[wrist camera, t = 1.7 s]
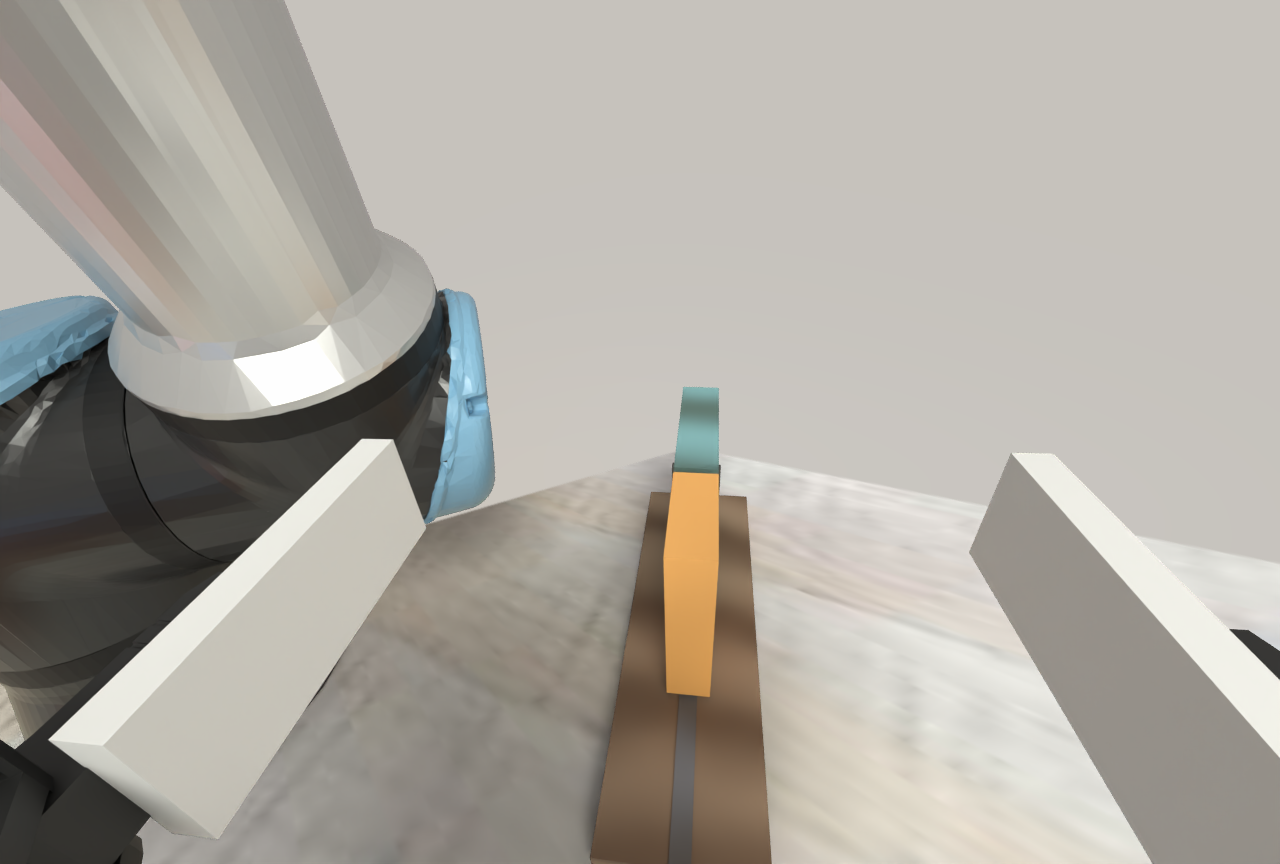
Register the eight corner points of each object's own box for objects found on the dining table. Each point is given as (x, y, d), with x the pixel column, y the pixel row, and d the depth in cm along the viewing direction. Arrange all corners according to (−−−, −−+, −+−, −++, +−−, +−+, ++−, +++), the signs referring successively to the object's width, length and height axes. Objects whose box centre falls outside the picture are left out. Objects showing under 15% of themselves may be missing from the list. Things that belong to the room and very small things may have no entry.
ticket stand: (769, 896, 22) (813, 761, 15) (593, 869, 23) (555, 731, 16) (745, 510, 43) (758, 375, 36) (651, 504, 44) (646, 372, 37)
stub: (709, 697, 28) (718, 561, 22) (666, 692, 28) (663, 557, 22) (711, 606, 33) (718, 474, 27) (674, 602, 33) (673, 471, 27)
